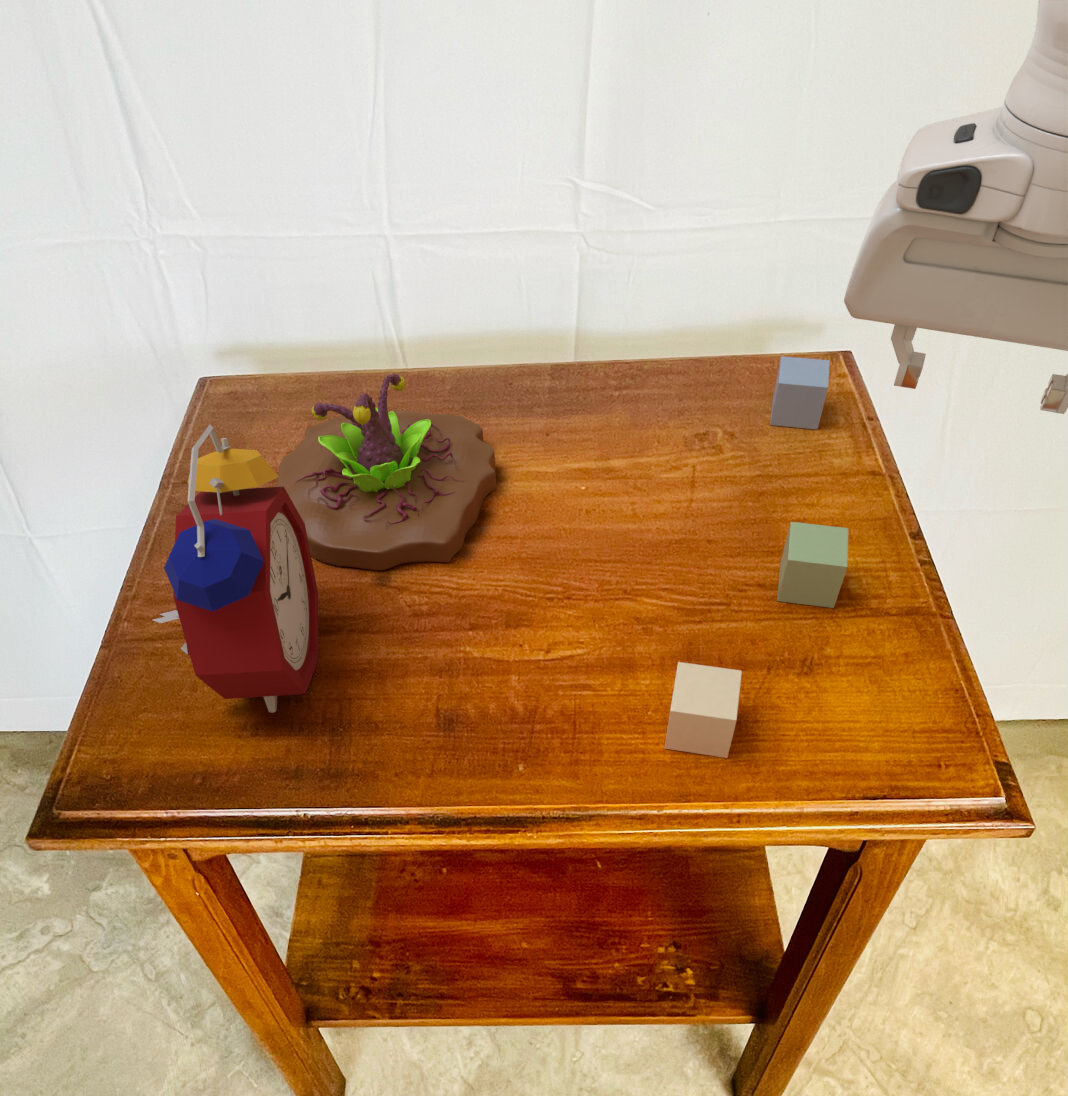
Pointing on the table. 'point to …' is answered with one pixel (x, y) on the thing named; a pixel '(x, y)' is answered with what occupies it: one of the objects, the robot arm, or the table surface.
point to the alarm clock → (243, 579)
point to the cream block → (703, 709)
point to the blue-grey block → (800, 392)
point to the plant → (387, 483)
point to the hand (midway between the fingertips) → (977, 395)
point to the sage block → (813, 564)
